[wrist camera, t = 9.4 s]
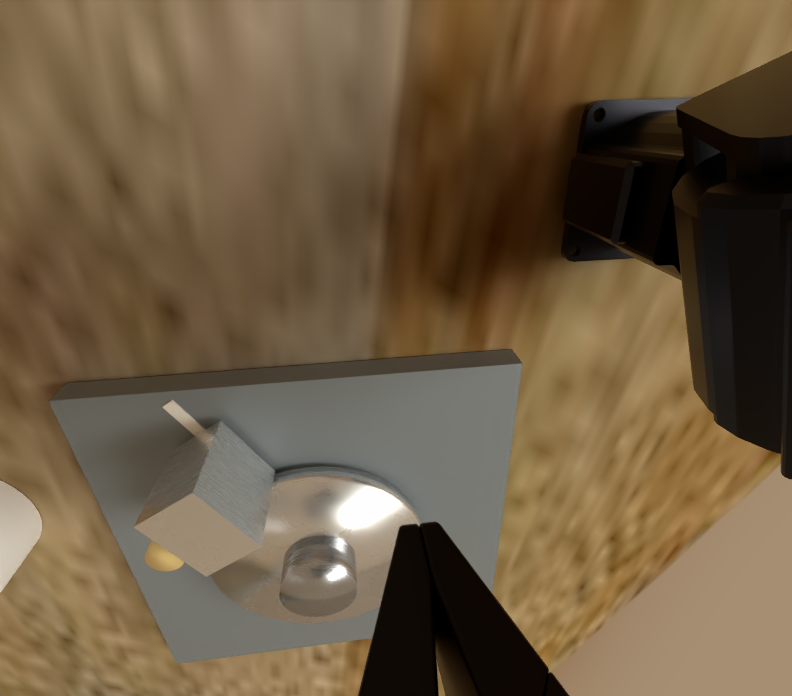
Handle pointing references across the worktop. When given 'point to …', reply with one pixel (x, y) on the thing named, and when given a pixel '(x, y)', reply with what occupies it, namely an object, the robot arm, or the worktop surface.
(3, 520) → the cylindrical container
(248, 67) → the worktop surface
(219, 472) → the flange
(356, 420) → the base board
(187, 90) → the worktop surface
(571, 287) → the worktop surface
